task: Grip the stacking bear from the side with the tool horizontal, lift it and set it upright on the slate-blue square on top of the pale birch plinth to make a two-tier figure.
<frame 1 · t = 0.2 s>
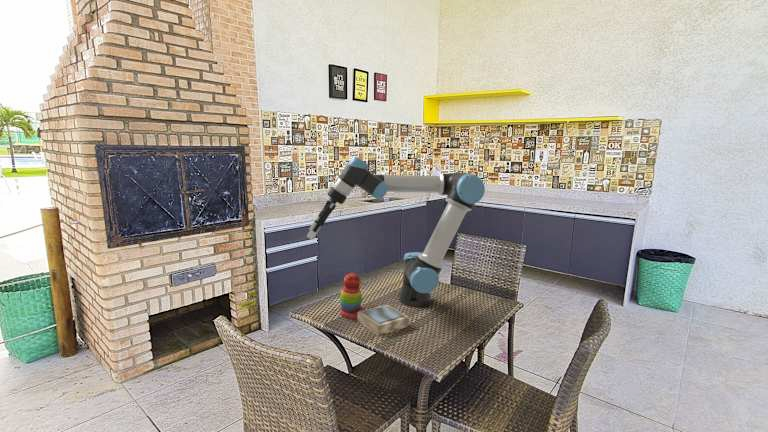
hand: (310, 234, 156), 35 cm above the table, tool tilted 35°, fingers open, 13 cm apart
plinth: (382, 323, 155), on the table
stacking bear: (351, 314, 164), on the table
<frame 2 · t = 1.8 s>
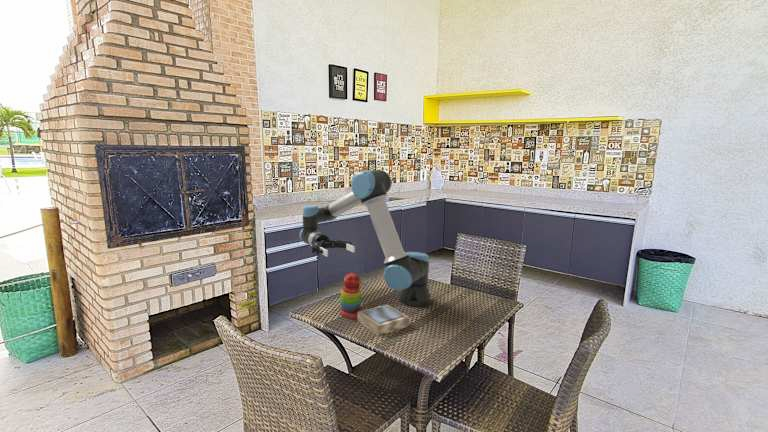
hand: (341, 251, 167), 25 cm above the table, tool horizontal, fingers open, 13 cm apart
nothing on the table moved.
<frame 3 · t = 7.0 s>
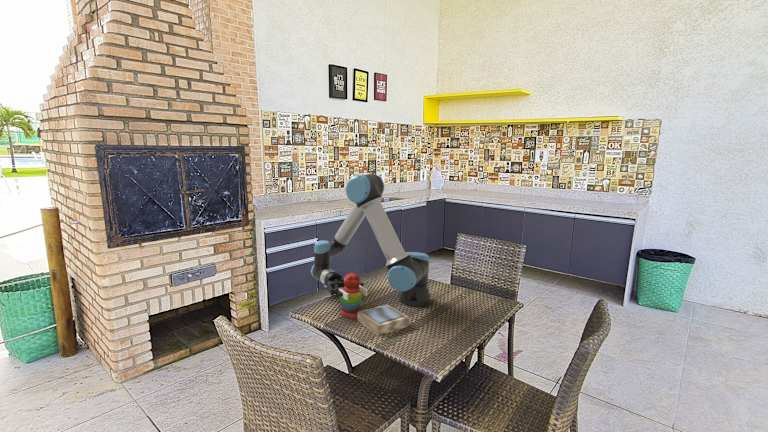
hand: (357, 294, 158), 10 cm above the table, tool horizontal, fingers closed on stacking bear, 9 cm apart
stacking bear: (351, 314, 164), on the table, touching gripper
when the fingers open (16 cm above the table, at t = 12.6 s): stacking bear drops 2 cm, resting on plinth.
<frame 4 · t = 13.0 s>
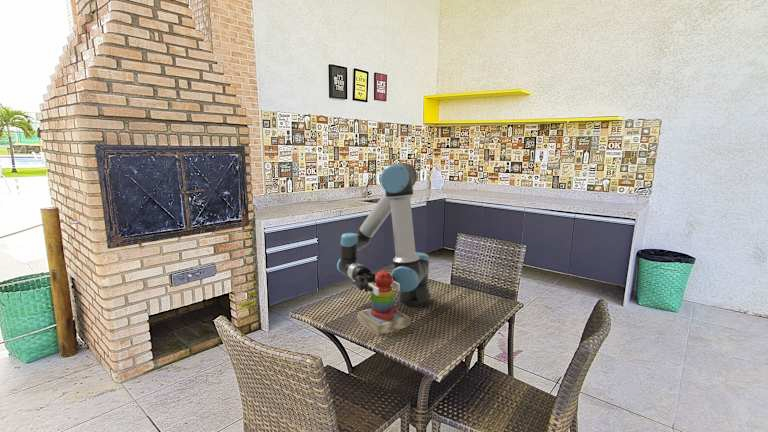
hand: (388, 289, 148), 16 cm above the table, tool horizontal, fingers open, 9 cm apart
stacking bear: (382, 314, 154), point 4 cm above the table, touching plinth
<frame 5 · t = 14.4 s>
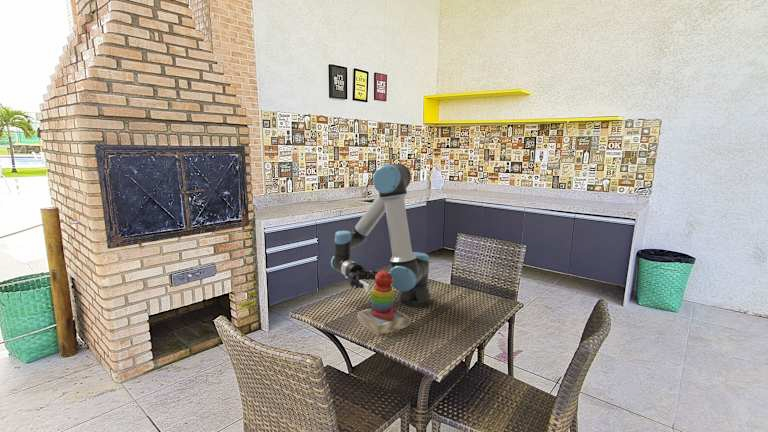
hand: (380, 286, 152), 16 cm above the table, tool horizontal, fingers open, 10 cm apart
nothing on the table moved.
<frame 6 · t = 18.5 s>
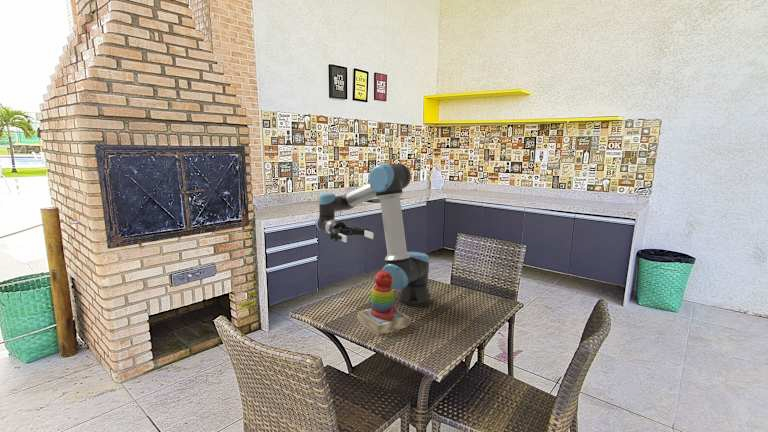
hand: (360, 237, 165), 32 cm above the table, tool horizontal, fingers open, 13 cm apart
nothing on the table moved.
at the end: stacking bear inside the target area on the plinth (0.3 cm from its centre), point 4.2 cm above the plinth's base; stacking bear tilted 0°; the gripper is holding nothing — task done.
